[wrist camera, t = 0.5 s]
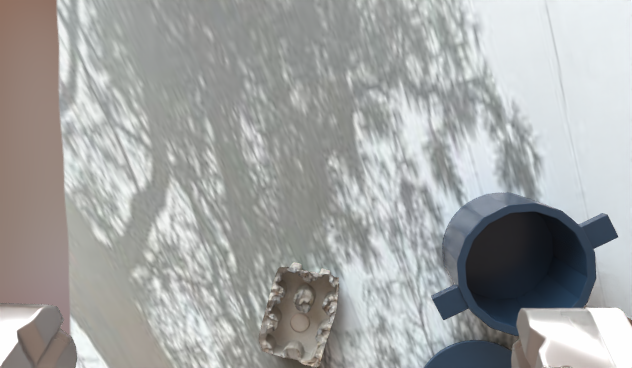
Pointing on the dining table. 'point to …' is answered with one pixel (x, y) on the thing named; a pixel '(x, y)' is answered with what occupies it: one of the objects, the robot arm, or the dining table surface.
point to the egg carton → (299, 314)
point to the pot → (518, 259)
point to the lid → (472, 356)
